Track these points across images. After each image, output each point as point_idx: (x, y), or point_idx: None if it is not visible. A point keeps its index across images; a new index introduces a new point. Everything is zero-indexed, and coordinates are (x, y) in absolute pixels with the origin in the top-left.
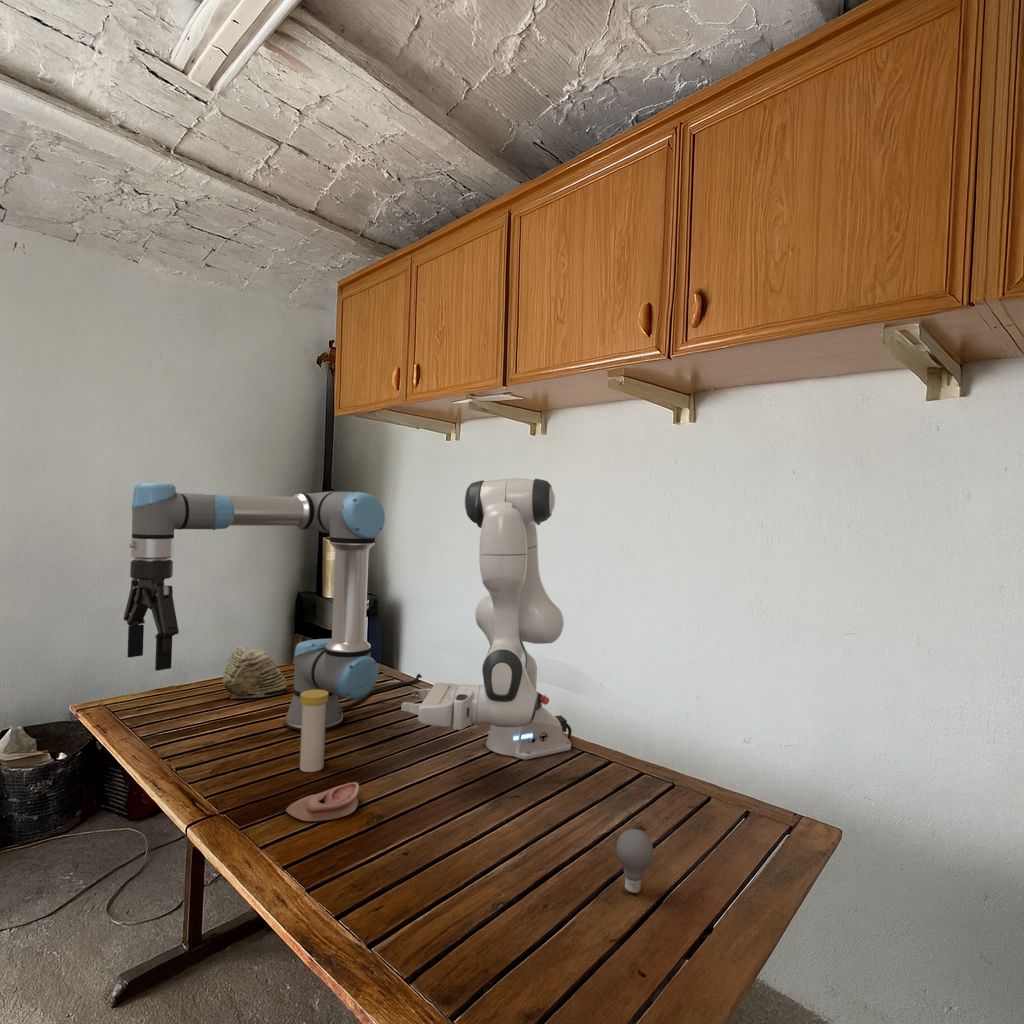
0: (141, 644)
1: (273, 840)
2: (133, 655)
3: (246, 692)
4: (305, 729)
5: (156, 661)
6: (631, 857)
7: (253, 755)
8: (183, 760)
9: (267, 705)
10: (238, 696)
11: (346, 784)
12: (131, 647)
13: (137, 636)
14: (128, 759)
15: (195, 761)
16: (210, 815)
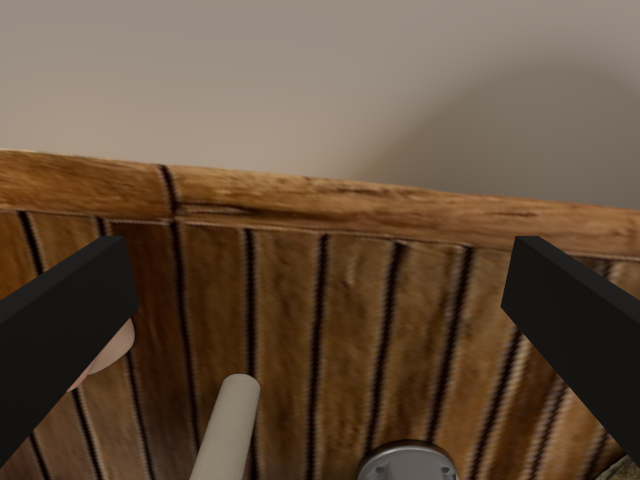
0: (540, 341)
1: (34, 235)
2: (515, 264)
3: (621, 473)
4: (214, 436)
5: (78, 258)
6: None
7: (354, 354)
8: (429, 269)
9: (547, 467)
10: (629, 458)
11: (77, 381)
12: (549, 276)
13: (591, 360)
14: (520, 201)
15: (407, 281)
16: (176, 206)
